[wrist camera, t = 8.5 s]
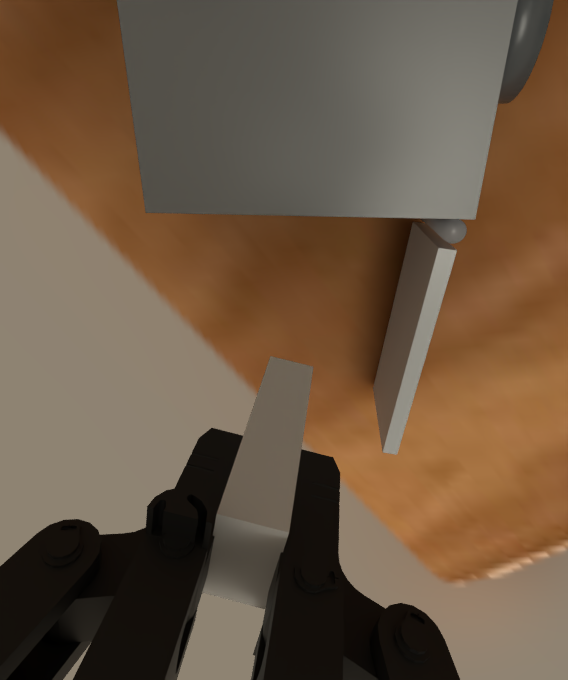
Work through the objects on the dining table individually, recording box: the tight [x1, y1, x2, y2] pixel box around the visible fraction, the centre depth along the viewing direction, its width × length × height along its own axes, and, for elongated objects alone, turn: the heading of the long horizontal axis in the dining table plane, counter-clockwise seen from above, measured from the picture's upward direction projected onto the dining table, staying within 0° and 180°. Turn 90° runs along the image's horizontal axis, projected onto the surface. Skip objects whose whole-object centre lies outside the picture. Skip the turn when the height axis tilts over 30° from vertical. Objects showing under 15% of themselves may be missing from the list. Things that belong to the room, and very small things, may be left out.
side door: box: [373, 222, 457, 455], centre depth 24 cm, size 12×1×7 cm, turn 174°
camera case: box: [117, 0, 553, 243], centre depth 18 cm, size 16×13×9 cm
